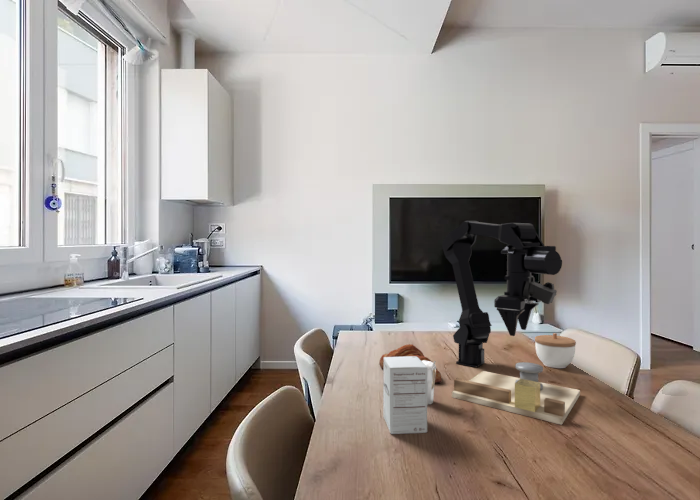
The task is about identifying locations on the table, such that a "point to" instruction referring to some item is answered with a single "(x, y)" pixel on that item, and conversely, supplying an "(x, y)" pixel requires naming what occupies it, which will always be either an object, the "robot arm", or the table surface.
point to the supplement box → (405, 395)
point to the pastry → (409, 351)
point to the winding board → (502, 396)
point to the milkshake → (430, 380)
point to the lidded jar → (555, 350)
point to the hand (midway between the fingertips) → (518, 332)
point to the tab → (527, 395)
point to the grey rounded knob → (529, 371)
